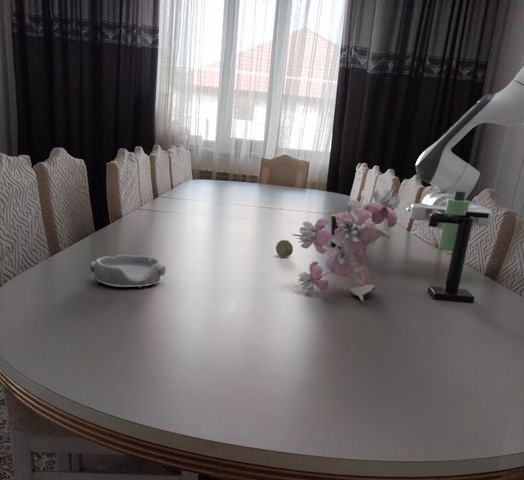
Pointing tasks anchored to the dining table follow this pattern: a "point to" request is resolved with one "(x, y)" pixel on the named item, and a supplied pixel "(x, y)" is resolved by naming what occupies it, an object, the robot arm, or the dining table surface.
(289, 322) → the dining table surface
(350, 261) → the flower
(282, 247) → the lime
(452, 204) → the soap bottle
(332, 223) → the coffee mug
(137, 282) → the dish
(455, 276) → the faucet
